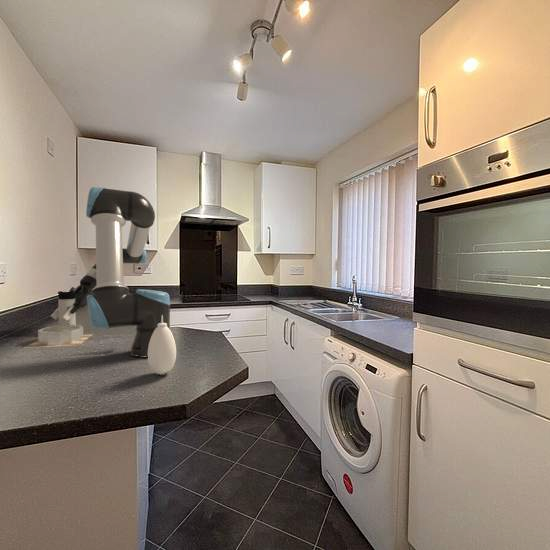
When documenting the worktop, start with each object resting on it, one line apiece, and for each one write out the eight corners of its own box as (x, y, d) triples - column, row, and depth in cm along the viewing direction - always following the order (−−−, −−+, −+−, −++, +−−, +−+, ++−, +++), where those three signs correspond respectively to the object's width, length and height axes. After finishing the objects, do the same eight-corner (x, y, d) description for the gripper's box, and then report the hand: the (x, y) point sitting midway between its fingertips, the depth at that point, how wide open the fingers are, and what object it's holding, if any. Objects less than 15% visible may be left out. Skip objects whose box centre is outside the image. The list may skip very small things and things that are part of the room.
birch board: (78, 348, 114) (78, 344, 114) (23, 351, 109) (23, 348, 109) (93, 337, 131) (93, 334, 131) (45, 339, 126) (45, 336, 126)
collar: (75, 344, 115) (75, 331, 115) (31, 346, 111) (31, 333, 111) (87, 335, 129) (87, 324, 129) (48, 337, 125) (48, 325, 125)
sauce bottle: (159, 381, 83) (159, 317, 82) (142, 375, 87) (142, 315, 86) (181, 373, 89) (181, 314, 89) (164, 368, 93) (164, 311, 93)
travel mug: (63, 333, 136) (63, 290, 136) (78, 333, 137) (78, 290, 136) (54, 337, 130) (54, 292, 129) (70, 336, 131) (69, 292, 130)
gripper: (111, 285, 144) (80, 324, 129) (82, 284, 150) (49, 321, 135) (102, 275, 139) (68, 314, 124) (72, 274, 145) (37, 311, 130)
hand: (59, 318), depth 130 cm, fingers closed on travel mug, 6 cm apart
